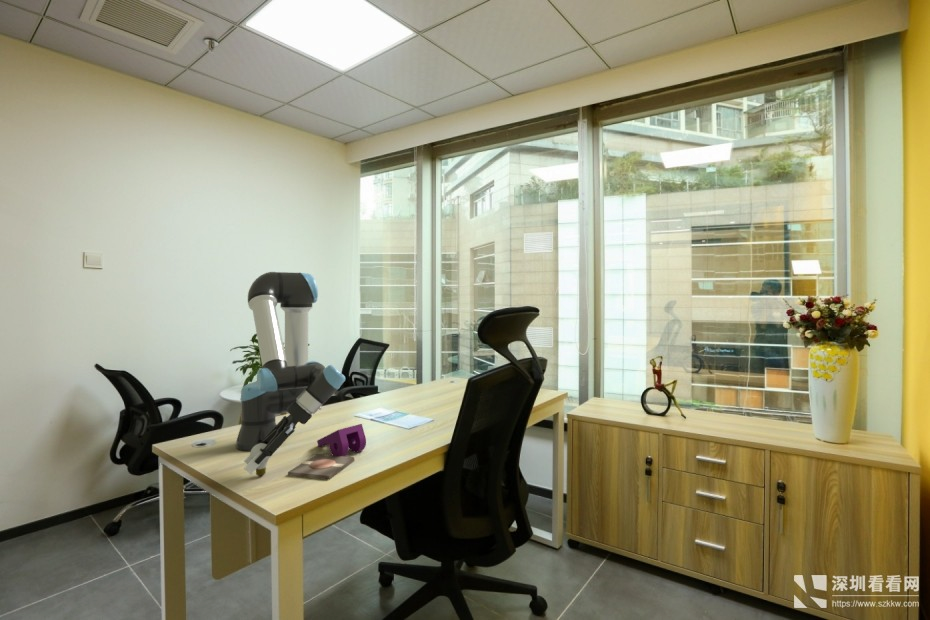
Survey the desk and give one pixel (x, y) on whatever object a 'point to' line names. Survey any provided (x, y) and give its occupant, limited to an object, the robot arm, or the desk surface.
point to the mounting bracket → (345, 440)
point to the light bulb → (262, 467)
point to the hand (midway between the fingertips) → (247, 467)
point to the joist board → (321, 466)
